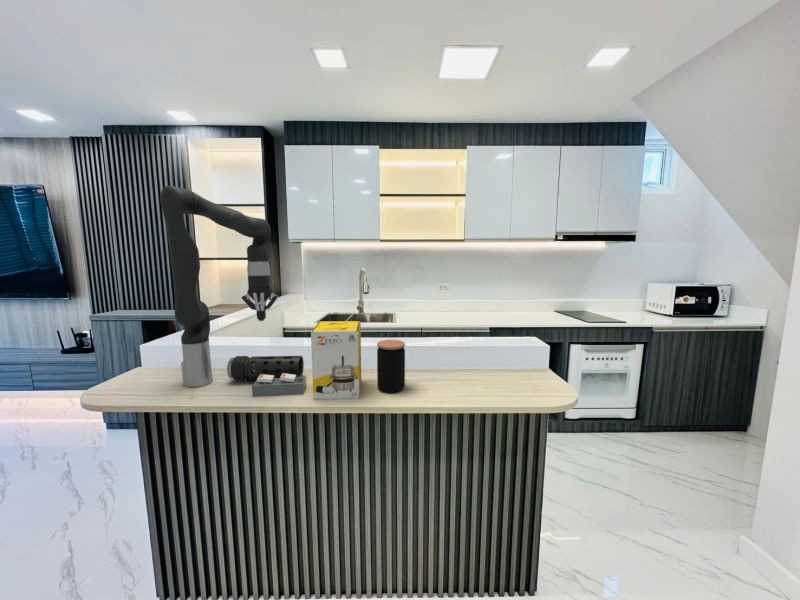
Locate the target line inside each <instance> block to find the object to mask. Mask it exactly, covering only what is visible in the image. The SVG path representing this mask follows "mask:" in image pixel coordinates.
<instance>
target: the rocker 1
mask: <svg viewBox="0 0 800 600" xmlns="http://www.w3.org/2000/svg"><path fill="white" fill-rule="evenodd" d="M273 379H274V375H264V374H261V375H260V376H259V377H258V379H257V381H259V382H270V383H271V382H272V381H273Z"/></svg>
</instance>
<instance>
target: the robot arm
mask: <svg viewBox="0 0 800 600" xmlns="http://www.w3.org/2000/svg"><path fill="white" fill-rule="evenodd" d="M159 196H160V197H159V198H160V199H159V200H160V206H161V211H162V215H163V219H164V223H165V228H166V234H167V235H166V236H167V240H168V247H169V248H168V249H169V259H170V260H169V261H170V267H171V273H172V281H173V289H174V317H175V320H176V322H177V323H178V324H179V325H181V326H183V327H184V329H183V332H182V334H181V335H180V341H181V350H182V351H181V352H182V360H183V361H181V362H180V366H181V377H182V385H183V387H188V388H199V387H203V386H207V385H209V384H210V383H212V382H213V373H212V372H213V371H212V370H213V369H212V359H211V358H212V357H211V348H210V337H209V336H210V333H211V332H210V331H211V320H210V317H211V316H210V310H209V307H208V306H207V304H206V303H205V302H203V301H202V300H198V298H197V296H198V295H197V285H198V281H199V280H198V279H199V275H200V271H201V270H200V269H201V262H200V261H201V260H200V252H199V248H198V246H197V244H196V243H195V240H194V239H193V237H192V235H191V234H190V233H189V231H188V228H187V226H186V223H185V217H184V215H194V216H201V217H205V218H206V219H209V220H211V221H212V222H214V223H215V224H217V225H219V226H221V227H224V228H227V229H229V230H232V231H234V232H237V233H239V234H240V235H241V236H245V237H247V238H252V244H250V245H248V246H247V248H246V255H247V256H246V258H247V267H246V270H247V271H246V272H247V286H248V289H247V293H246V294H245V295H243V296H242V297H241V299H242V301H243V302H244V303H245V304H246V305H247V306H248V307H249V309H251V310H254V311H255V312H256V319H257V320H258V322H264V320H266V318H267V316H266V314H267V312H266V310H269V309H270V308H271V307H272V306H273V305H274V304H275V303H276V301H277V300H278V298H279V295H277V294H276V293H273V290H272V287H271V269H270V264H269V252H268V251H269V246H270V242H271V241H270V240H271V235H272V234H271V233H272V230H271V225H270V224H269V222H268V221H267V220H266V219H263V218H259V217H253V216H249V215H245V214H244V213H243V212H241V211H238V210H236V209H233V208H231V207H227V206H224V205H222V204H218V203H215V202H213V201H210V200H208V199H207V198H205V197H203V196H201V195H200V194H198V193H196V192H193V191H192V190H190V189H187V188H183V187H179V186H174V185H167V186H164V187H163V188H162V190H161V192H160V195H159ZM269 298H270V301H269V302H268V304H267V301H268V300H269ZM251 299H252V300H251ZM253 301H254V302H253Z"/></svg>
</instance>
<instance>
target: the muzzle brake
mask: <svg viewBox="0 0 800 600" xmlns="http://www.w3.org/2000/svg"><path fill="white" fill-rule="evenodd" d="M304 364H305V363H304V357H303V356H302V355H270V356H269V355H266V356H265V355H264V356H262V355H261V356H258V355H257V356H256V355H255V356H254V355H253V356H251V357H250V356H248V355H236V356H235V357H230V358H229V360H228V363H227V366H226V374H227V376H228V378H229V379H233V380H235V381H241V380H243V381H244V380H246V381H247V382H254V381H253V380H257V379H258V377H259V376H260V375H261V374H264V375H274V378H280V377H281V375H282V374H283V373H287V374H293V375H296V377H303V373H304V369H305V367H304Z"/></svg>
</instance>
